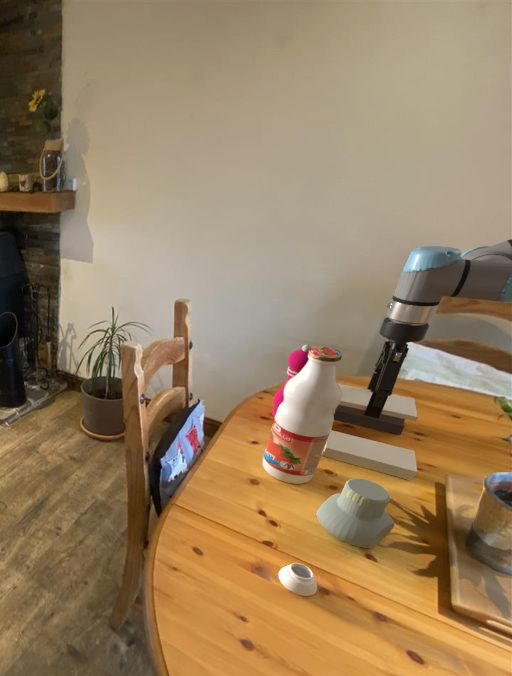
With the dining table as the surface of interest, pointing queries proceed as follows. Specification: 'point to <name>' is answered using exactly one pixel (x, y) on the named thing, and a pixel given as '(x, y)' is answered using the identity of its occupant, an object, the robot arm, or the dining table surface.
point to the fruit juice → (304, 419)
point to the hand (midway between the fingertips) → (371, 406)
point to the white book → (392, 407)
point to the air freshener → (357, 514)
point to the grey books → (369, 419)
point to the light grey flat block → (371, 455)
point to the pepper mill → (292, 372)
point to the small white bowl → (298, 579)
